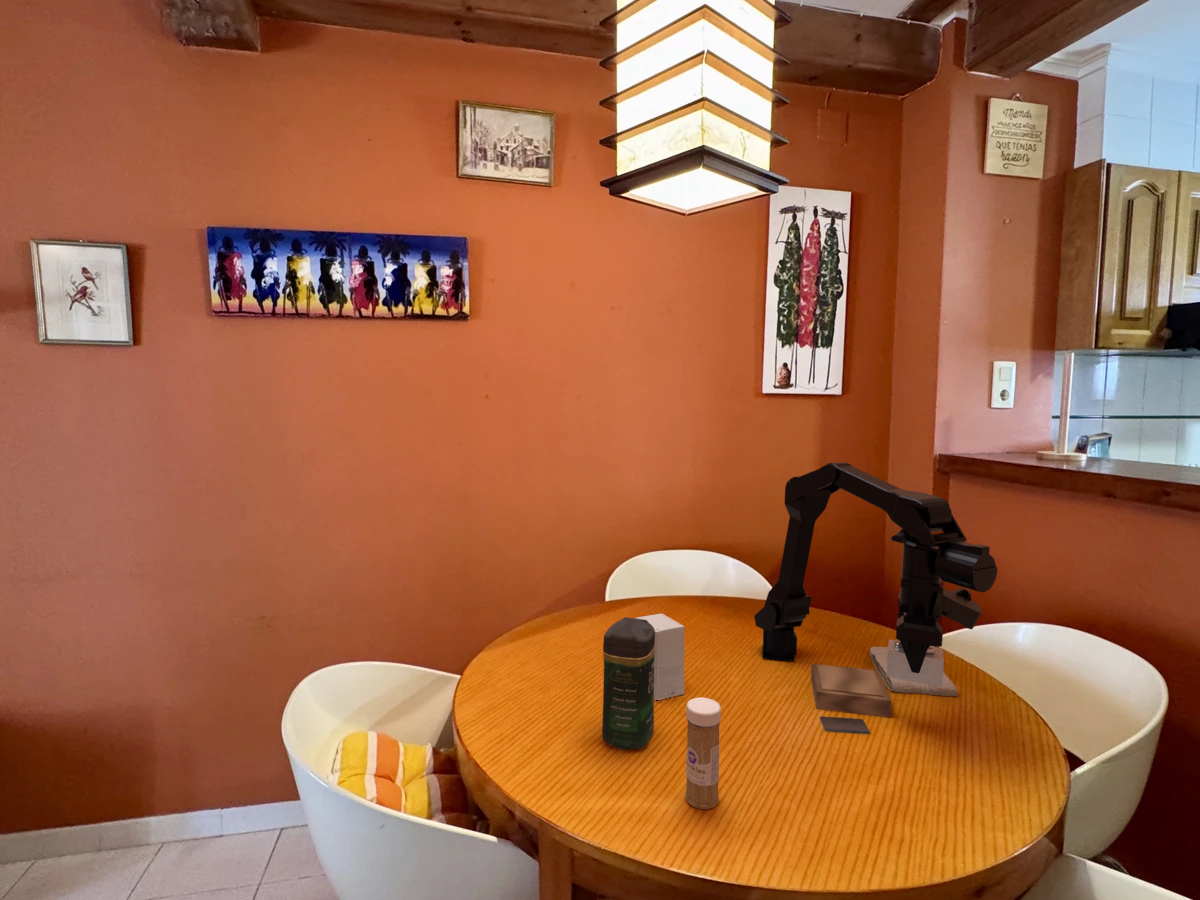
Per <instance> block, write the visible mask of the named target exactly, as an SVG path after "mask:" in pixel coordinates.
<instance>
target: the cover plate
mask: <svg viewBox="0 0 1200 900" xmlns="http://www.w3.org/2000/svg"><path fill="white" fill-rule="evenodd" d="M819 721H820V722H821V725H822V728H823V729H824V731H825V732H827V733H828V732H829V733H830V732H831V733H843V734H859V735H860V734H861V735H871V730H870V729H869V727H868V725H867V724H866V722H865V721H864V719H863V718H853V717H852V718H850V717H834V716H822V715H821V716H819Z"/></svg>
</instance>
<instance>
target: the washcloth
mask: <svg viewBox="0 0 1200 900" xmlns="http://www.w3.org/2000/svg"><path fill="white" fill-rule="evenodd" d="M869 655H870V659H871V661H872V664H873V666H874V668H875V670H878V671H879V674H880V676H881V678H882V681H883V683H884V684H885V685H886V687H887V688H888V690H889V691H891V692H894V693H899V694H900V693H901V692H902V694H918V693H921V695H928V694H929V696H938V695H939V696H940V695H941V697H953V696H954V697H956V696H959V693H958V689H957V686H956V685H955V684H954V683H953V682H952V680H951V678H949V677H948V676H947V674H946V673H945V672H944V671H943V682H942V688H941V687H936V686H931V685H926V684H921V683H916V682H911V681H906V680H901V679H896V678H891V677H886V675H887V658H888V646H872V647H870V650H869Z"/></svg>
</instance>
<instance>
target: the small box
mask: <svg viewBox="0 0 1200 900" xmlns="http://www.w3.org/2000/svg"><path fill="white" fill-rule="evenodd" d="M635 618H636V619H644V620H647V621H648V622H649V623H650V624H651V625H652V626H653V627H654V629H655V658H654V660H655V661H654V702H657V701H656V700H659V701H661V700H660V699H663V700H665V699H664V698H667V699H670V698H669V697H671V698H674V696H675V697H677V696H681V695H684V694H685V625H682V624H681V623H679V622H677V621H675V620H674V619H672V618H671V617H669V616H667V615H665V614H664V613H657V614H656V613H655V614H651V615H650V614H649V615H644V616H638V617H637V616H636V617H635Z"/></svg>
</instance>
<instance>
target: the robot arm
mask: <svg viewBox="0 0 1200 900" xmlns="http://www.w3.org/2000/svg"><path fill="white" fill-rule="evenodd" d="M784 487H785V488H784V506H785V509H786V511H787V513H788V516H789V519H788V525H787V530H786V535H785V541H784V546H783V551H782V558H781V563H780V568H779V575H778V579H777V581H776V582H775V583H774V585H773V586H772V587H771V589H770V590H769V591H768V592H767V597H766V599H765V601H764V605H763V607H762V608H761V609H760V610H759V611H757V613H755V615H754V617H753V618H754V622H755V626H756V627H758V628H759V629H762V645H761V658H762V659H766V660H775V661H783V662H784V661H785V662H786V661H787V662H794V661H795V656H797V649H798V647H797V644H798V636H797V632H795V628H797V627H798V628H800V627H802V624H803V622H804V620H805V619H806V618H807V615H810V607H811V606H810V605H811V602H812V600H813V599H812V596H810V595H808V594H807V592H806V590H805V586H804V582H805V579H806V578H805V576H806V571H807V565H808V561H809V557H810V552H811V551H810V550H811V546H812V541H813V536H814V535H813V534H814V531H815V525H816V522H817V520H818V519H819V517H820V516H821V515H822V514H823V513H824V512H825V510H826V508H827V505H828V504H829V500H830V498H831V495H833V494H835V493H836V492H838V491H840V490H843V491H845V492H847V493H849V494H851V495H853V496H855V497H857V498H858V499H860V500H863V501H865V502H867V503H868V504H871V505H872V506H875V507H876V508H879V509H881V510H882V512H883V511H884V512H885V513H886V514H887V515H888V517H889V519H890V520H891V522H892V523H894V524H895V525H896V526H898V527H899V528H900V531H899V532H897V533H895V534H894V535H892V536H891V537H890V539H891V541H892V542H895V543H898V544H899V543H900V544H902V557H901V558H902V559H901V573H900V576H901V577H900V591H899V593H898V602H897V603H898V604H897V608H899V610H898V612H897V617H898V618H897V619H896V630H895V639H896V640H897V641H900V643H901V645H902V648H903V650H904V653H905V655H906V658H907V661H908V663H909V666H910V669H911V671H912V672H913V673H920V670H921V667H922V664H923V661H924V658H925V655H926V652H927V650H928V647H930V646H934V647H936V648H941V647H943V635H944V634H943V627H942V626H941V624H940V623H939V620H942V619H943V616H944V617H945V618H946V619H947V618H948V619H950V620H952V621H953V622H956V623H959V624H960V625H962V627H964V628H966V629H968V630H973V629H974V628H975V625H976V623H977V622H978V620H979V619H980V616H981V615H982V612H983V611H982V609H981V605H979V604H978V603H977V601H974V600H972V594H971V591H970V590H972V591H975V592H978V593H986V592H988V591H989V590H991V588H992V587H993V586H994V584H995V582H996V578H997V575H998V567H997V564H996V561H995V558H994V557H993V556H992V555H991V554H990V551H991V550H990V546H988V545H985V544H975V543H969V542H967V538H966V535H965V534H964V532H963V531H962V529H961V527H960V525H959V524H958V522H957V521H956V518H955V517H954V515H953V513H952V508H951V506H950V502H948V501H947V500H946V499H944V498H943V497H941V496H936V495H934V494H929V493H926V492H920V491H913V490H906V489H904V488H900V487H899V486H895V485H893V484H891V483H889V482H887V481H885V480H882V479H880V478H878V477H877V476H875V475H872V474H869V473H867V472H866V471H863V470H861V469H859V468H856V467H855V466H853V465H852V464H850V463H848V462H846V461H841V462H839V461H838V462H829V463H827V464H825V465H823V466H821V467H820V468H818V469H815V470H812V471H810V472H808V473H807V472H806V473H805V474H803V475H801V476H800V475H799V476H794V477H793V476H792V477H791V478H790V479H788V480H787V481H786V483H785V486H784ZM937 532H939V533H937ZM941 532H942V533H941ZM933 533H934V534H933ZM943 582H945V583H948V584H952V585H955V586H958V588H956V589H955V590H954V591H953V590H947V589H945V588H944V586H943Z"/></svg>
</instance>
